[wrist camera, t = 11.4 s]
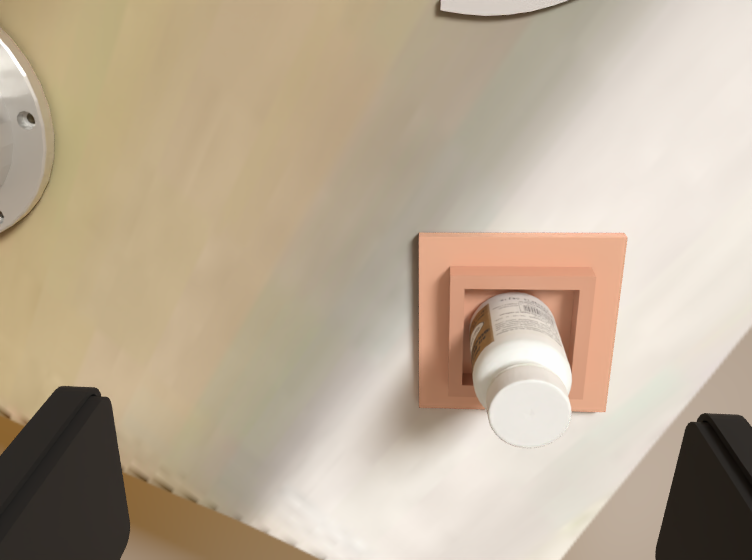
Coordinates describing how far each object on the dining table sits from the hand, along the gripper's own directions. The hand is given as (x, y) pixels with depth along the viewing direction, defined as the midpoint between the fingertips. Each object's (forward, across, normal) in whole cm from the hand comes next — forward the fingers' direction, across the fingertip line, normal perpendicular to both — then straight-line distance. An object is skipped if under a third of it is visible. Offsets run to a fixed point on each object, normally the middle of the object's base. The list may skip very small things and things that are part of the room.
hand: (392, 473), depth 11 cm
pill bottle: (+23, -6, +9) cm, 26 cm away
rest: (+24, -6, +9) cm, 26 cm away
